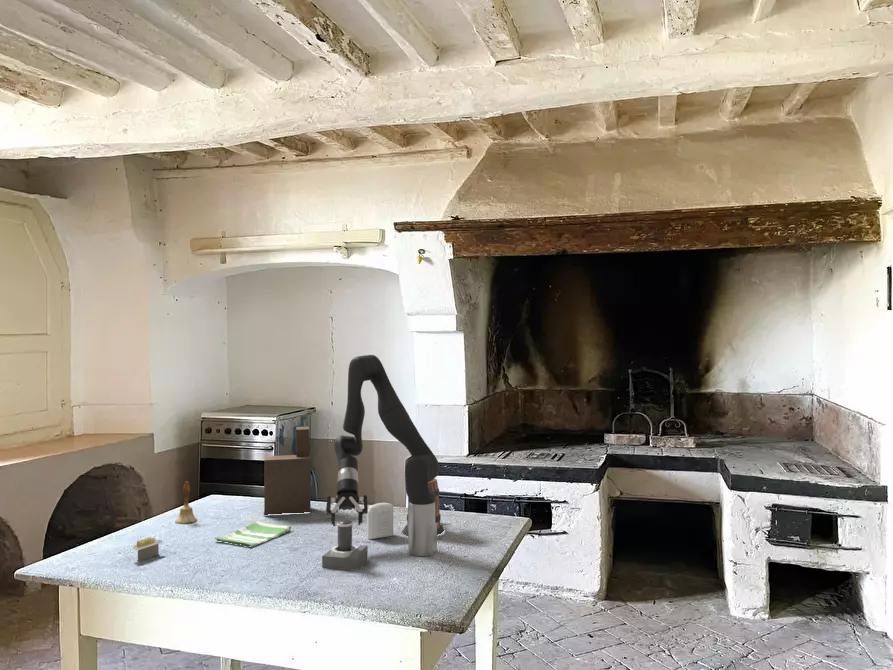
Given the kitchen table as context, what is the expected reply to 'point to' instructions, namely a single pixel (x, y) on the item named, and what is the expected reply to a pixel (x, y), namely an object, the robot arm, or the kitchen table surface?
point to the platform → (147, 548)
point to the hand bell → (186, 508)
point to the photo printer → (380, 520)
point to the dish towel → (251, 539)
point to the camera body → (346, 558)
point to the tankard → (434, 488)
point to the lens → (344, 535)
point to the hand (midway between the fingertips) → (346, 524)
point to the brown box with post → (288, 479)
